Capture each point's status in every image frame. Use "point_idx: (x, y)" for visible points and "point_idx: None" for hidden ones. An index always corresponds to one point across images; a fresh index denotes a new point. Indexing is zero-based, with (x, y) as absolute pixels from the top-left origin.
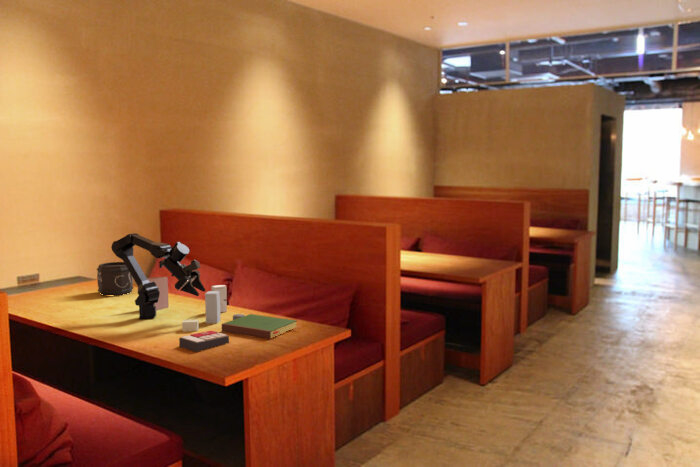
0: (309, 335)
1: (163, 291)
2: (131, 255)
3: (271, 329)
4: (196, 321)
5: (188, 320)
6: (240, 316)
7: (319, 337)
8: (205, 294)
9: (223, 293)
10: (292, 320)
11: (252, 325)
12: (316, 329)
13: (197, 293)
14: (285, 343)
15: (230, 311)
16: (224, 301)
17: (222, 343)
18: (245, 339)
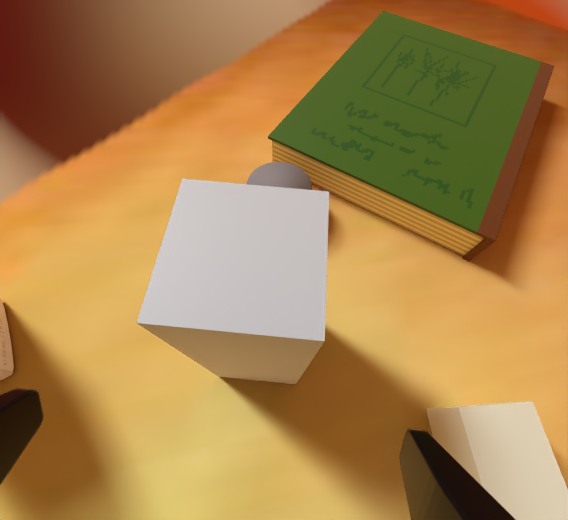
0: (453, 21)
1: None
2: None
3: (525, 62)
4: (526, 409)
5: (515, 498)
6: (300, 176)
7: (468, 6)
8: (322, 337)
9: None
10: (382, 19)
11: (485, 115)
12: (384, 8)
13: (452, 466)
14: (557, 62)
15: (9, 278)
16: None
17: None
18: (559, 159)
